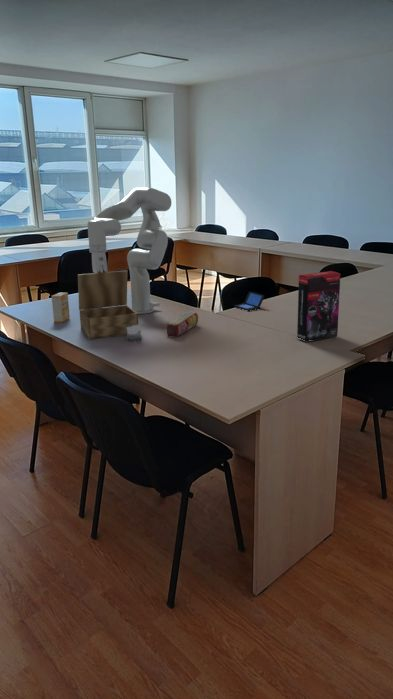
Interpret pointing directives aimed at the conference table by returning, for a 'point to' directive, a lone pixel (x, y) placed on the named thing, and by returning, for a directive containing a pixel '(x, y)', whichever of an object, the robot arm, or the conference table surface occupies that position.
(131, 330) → the steel weight
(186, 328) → the snack package
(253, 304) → the handheld game console
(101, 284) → the lid
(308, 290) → the graphics card box
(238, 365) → the conference table surface
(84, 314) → the tan wicker box
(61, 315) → the supplement box
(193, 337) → the conference table surface
